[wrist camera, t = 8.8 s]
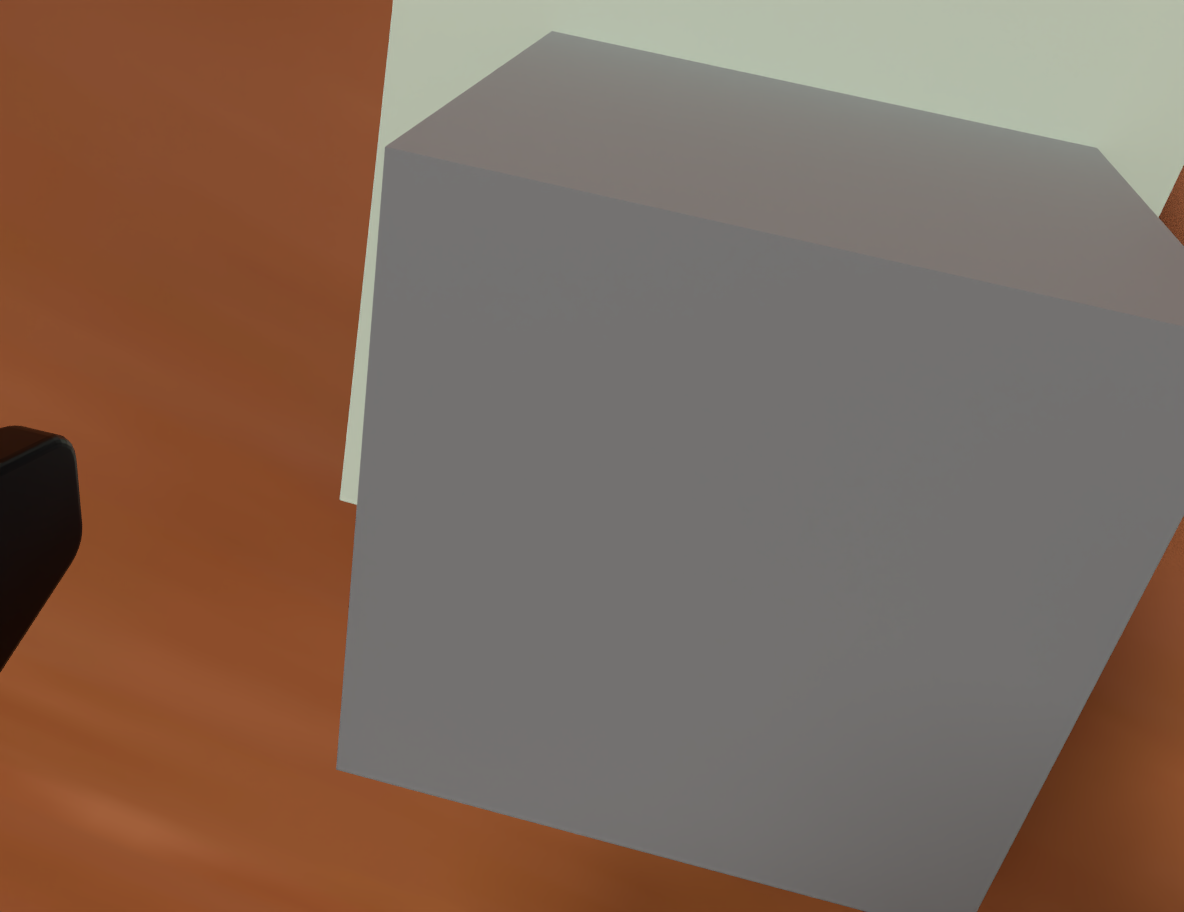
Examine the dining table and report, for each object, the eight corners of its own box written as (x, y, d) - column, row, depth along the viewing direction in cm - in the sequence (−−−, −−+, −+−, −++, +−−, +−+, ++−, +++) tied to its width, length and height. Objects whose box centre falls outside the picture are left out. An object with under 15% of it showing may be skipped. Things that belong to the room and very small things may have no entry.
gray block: (1097, 148, 11) (1272, 346, 7) (920, 592, 14) (963, 937, 9) (551, 30, 11) (385, 147, 7) (485, 486, 14) (335, 769, 10)
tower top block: (1170, -27, 13) (1259, 6, 10) (924, 539, 17) (943, 668, 14) (494, -190, 13) (413, -197, 11) (412, 400, 17) (339, 499, 15)
